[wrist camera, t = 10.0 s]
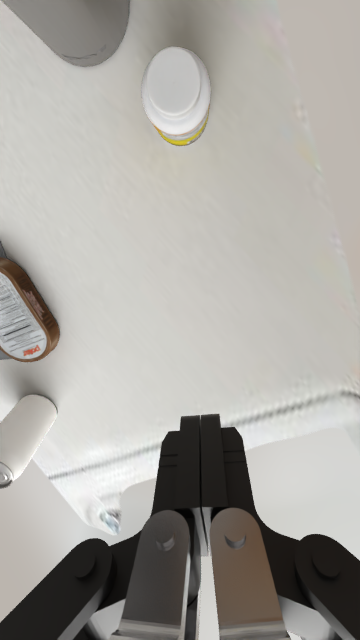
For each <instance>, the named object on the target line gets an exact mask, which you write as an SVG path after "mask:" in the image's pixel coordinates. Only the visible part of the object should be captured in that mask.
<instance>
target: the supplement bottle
mask: <svg viewBox="0 0 360 640" xmlns="http://www.w3.org/2000/svg"><path fill="white" fill-rule="evenodd" d="M141 96H142V102H143V106H144V109H145V112H146V114H147V116H148V118H149V119H150V121H151V122H152V124H153V125H154V127H155V128H156V129H157V131H158V132H159V134H160V135H161V136H162V137H163V139H165V140H166V141H167V142H169V143H171V144H173V145H176V146H185V145H189V144H191V143H193V142H194V141H196V140H197V139H198V138H199V137H200V136H201V134H202V133H203V131H204V129H205V127H206V124H207V120H208V113H209V105H210V97H211V84H210V78H209V75H208V72H207V69H206V67H205V65H204V64H203V62H202V61H201V59H200V58H199V57H198V56H197V55H196V54H195V53H193V52H192V51H190V50H188V49H185V48H182V47H175V46H171V47H167V48H164V49H162V50H161V51H159V52H158V53H157V54H156V55H155V56H154V57H153V59H152V60H151V61H150V62H149V64H148V66H147V68H146V70H145V72H144V75H143V79H142V85H141Z"/></svg>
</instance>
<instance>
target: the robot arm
mask: <svg viewBox="0 0 360 640" xmlns="http://www.w3.org/2000/svg"><path fill="white" fill-rule="evenodd" d="M1 1H2V2H3V3H4V4H5V5H6V6H7V7H8V8H9V9H10V10H11V11H12V12H14V13H15V14H16V15H17V16H18V17H19V18H20V19H21V20H22V21H23V22H24V23H25V24H26V25H27V26H28V27H29V28H30V29H31V30H32V31H33V32H34V33H35V34H36V35H37V36H38V37H39V38H40V39H41V40H42V41H43V42H44V43H45V44H46V45H47V46H48V47H49V48H50V49H51V50H52V51H53V52H54V53H55V54H57V55H58V56H59V57H60V58H62V59H63V60H64V61H67V62H69V63H71V64H73V65H77V66H82V67H87V66H94V65H97V64H100V63H102V62H104V61H105V60H107V59H108V58H109V57H111V55H112V54H113V53H114V52H115V51H116V50H117V48H118V47H119V45H120V43H121V41H122V39H123V37H124V34H125V31H126V28H127V23H128V16H129V0H1ZM208 544H209V550H210V555H211V556H212V565H213V574H214V585H215V593H216V594H215V595H216V604H217V614H218V624H219V635H220V640H291V638H290V636H289V634H288V633H287V631H289V632H291V633H294V634H296V635H298V636H300V637H301V639H302V640H360V561H359V560H358V559H357V558H356V557H355V556H354V555H352V554H351V553H350V552H349V551H348V550H347V549H346V548H344V547H343V546H342V545H341V544H340V543H338V542H337V541H335V540H334V539H332V538H330V537H328V536H325V535H320V534H311V535H307V536H305V537H304V538H302V539H301V540H300V541H299V540H296V539H293V538H290V537H287V536H284V535H281V534H279V533H277V532H275V531H273V530H271V529H270V528H269V527H267V526H266V525H265V524H264V523H263V521H262V520H261V519H260V517H259V516H258V514H257V512H256V509H255V506H254V501H253V495H252V490H251V484H250V479H249V473H248V467H247V463H246V456H245V451H244V445H243V440H242V437H241V435H240V434H239V432H238V431H237V430H236V428H235V427H227V428H221V424H220V416H219V414H208V415H201V419H200V415H196V416H182V417H181V423H180V431H169V432H168V434H167V435H166V437H165V438H164V440H163V442H162V446H161V453H160V460H159V468H158V474H157V481H156V488H155V495H154V502H153V509H152V513H151V516H150V518H149V519H148V521H147V522H146V524H145V525H144V527H143V529H142V530H141V531H140V532H138V533H137V534H136V535H134V536H133V537H131V538H129V539H126V540H124V541H121V542H119V543H116V544H114V545H111V546H108V544H107V543H106V542H105V541H103V540H101V539H98V538H93V539H88V540H85V541H83V542H81V543H80V544H78V545H77V546H76V547H75V548H74V549H72V550H71V552H69V554H67V555H66V556H65V558H64V559H63V560H62V561H61V562H60V563H59V564H58V565H57V566H56V567H55V568H54V569H53V570H52V571H51V572H50V573H49V574H48V575H47V576H46V577H45V578H44V579H43V580H42V581H41V582H40V583H39V584H38V585H37V586H36V587H35V588H34V589H33V590H32V591H31V592H30V593H29V594H28V595H27V596H26V597H25V598H24V599H23V600H22V601H21V602H20V603H19V604H18V605H17V606H16V607H15V608H14V609H13V611H11V612H10V613H9V614H8V615H7V616H6V617H5V618H4V619H3V620H2V621H1V623H0V640H198V635H199V616H200V596H201V556H208Z"/></svg>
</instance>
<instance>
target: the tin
mask: <svg viewBox="0 0 360 640" xmlns="http://www.w3.org/2000/svg"><path fill="white" fill-rule="evenodd" d="M59 336H60V334H59V328H58V325H57V323H56V321H55V319H54V318H53V316H52V315H51V313H50V311H49V310H48V308H47V307H46V305H45V304H44V302H43V300H42V299H41V297H40V295H39V294H38V292H37V291H36V289H35V287H34V286H33V284H32V282H31V281H30V279H29V277H28V276H27V274H26V273H25V272H24V271H23V270H22V269H21V268H20V267H19V266H18V265H17V264H15V263H14V262H12V261H10V260H8V259H5V258H2V257H0V350H1V351H2V352H3V353H5V354H6V355H7V356H9V357H11V358H13V359H15V360H18V361H21V362H34V361H38V360H41V359H43V358H44V357H45V356H47V355H48V354H49V353H50V352H51V351H52V350H53V349H54V348H55V347H56V346H57V344H58V341H59Z"/></svg>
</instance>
